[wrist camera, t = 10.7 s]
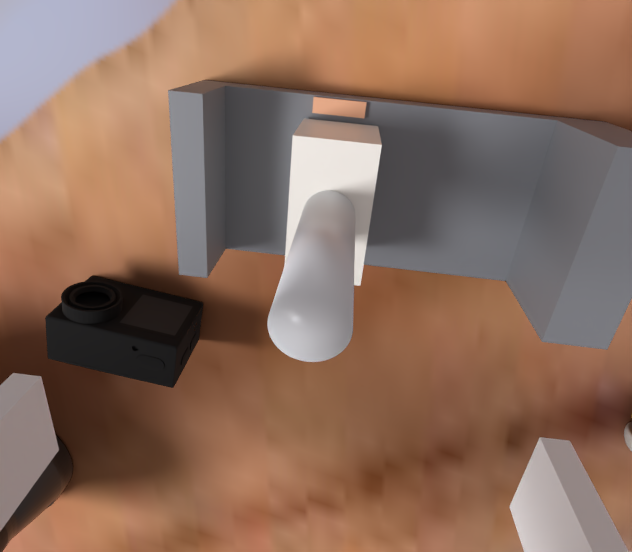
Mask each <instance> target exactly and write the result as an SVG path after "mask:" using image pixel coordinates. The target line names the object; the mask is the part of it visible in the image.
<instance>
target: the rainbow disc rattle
mask: <svg viewBox="0 0 632 552" xmlns="http://www.w3.org/2000/svg"><path fill="white" fill-rule="evenodd" d="M631 416H632V415H631ZM624 438H625V442H626V444H627V446H628V447H629V449H630V450H631V451H632V422H629V423H628V424H627V425H626V427H625V430H624Z"/></svg>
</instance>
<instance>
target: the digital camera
mask: <svg viewBox="0 0 632 552" xmlns="http://www.w3.org/2000/svg"><path fill="white" fill-rule="evenodd" d="M61 299H62V303H61V304H59V305H58V306H57V307H56V308H55V309H54V310H53V311H52V312H51V313H49V314H48V315H47V316H46V318H45V319H46V335H47V351H48V359H52V360H56V361H60V362H65V363H69V364H73V365H77V366H81V367H85V368H89V369H94V370H98V371H102V372H106V373H111V374H115V375H119V376H123V377H128V378H132V379H136V380H141V381H145V382H150V383H154V384H158V385H163V386H167V387H172V388H173V387H174V385H175V384H176V382H177V380H178V378H179V376H180V374H181V372H182V371H183V369H184V367H185V365H186V363H187V361H188V359H189V357H190V355H191V353H192V351H193V349H194V347H195V346H196V344H197V342H198V340H199V334H200V326H201V319H202V311H203V303H202V302H199V301H195V300H191V299H187V298H183V297H179V296H175V295H171V294H167V293H162V292H158V291H154V290H150V289H146V288H142V287H138V286H134V285H129V284H125V283H121V282H117V281H113V280H109V279H104V278H100V277H96V276H91V277H90V278H89V279H87V280H86V281H85V282H80V283H77V284H74V285H71V286H69V287H68V288H66V289H65V290H64V291H63V293H62V296H61ZM199 311H200V312H199ZM192 323H193V324H192ZM196 324H197V325H196ZM194 326H195V327H194ZM194 329H195V331H194ZM188 330H189V331H188Z"/></svg>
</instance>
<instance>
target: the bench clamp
mask: <svg viewBox="0 0 632 552" xmlns="http://www.w3.org/2000/svg"><path fill="white" fill-rule="evenodd" d="M168 95H169V112H170V129H171V146H172V163H173V180H174V198H175V215H176V232H177V249H178V266H179V275H187V276H196V277H204V278H208V276H209V274H210V273H211V271H212V270H213V268H214V266H215V265H216V263H217V262H218V260H219V258H220V257H221V255H222V254H223V252H224V251H225V249H235V250H243V251H252V252H260V253H269V254H278V255H285V250H286V234H287V218H288V202H289V186H290V170H291V154H292V138H293V134H294V133H295V131H296V130H297V128H298V127H299V125H300V124H301V122H302V121H303V119H304V118H306V119H315V120H325V121H334V122H344V123H353V124H363V125H372V126H378V128H379V133H380V138H381V143H382V147H381V154H380V160H379V167H378V173H377V180H376V186H375V193H374V200H373V206H372V213H371V219H370V226H369V232H368V239H367V245H366V252H365V259H364V265H372V266H381V267H389V268H398V269H406V270H415V271H424V272H432V273H441V274H449V275H458V276H467V277H475V278H484V279H492V280H501V281H506V282H507V284H508V286H509V287H510V289H511V291H512V292H513V294H514V296H515V297H516V299H517V301H518V302H519V304H520V306H521V307H522V309H523V311H524V312H525V314H526V316H527V318H528V319H529V321H530V323H531V324H532V326H533V328H534V329H535V331H536V333H537V334H538V336H539V338H540V339H541V341H542V342H548V343H557V344H565V345H573V346H581V347H590V348H598V349H606V350H607V349H608V347H609V345H610V343H611V341H612V338H613V336H614V334H615V332H616V330H617V328H618V326H619V324H620V322H621V320H622V317H623V315H624V313H625V311H626V309H627V307H628V305H629V303H630V301H631V299H632V131H630V130H627V129H624V128H622V127H619V126H616V125H613V124H610V123H607V122H603V121H593V120H584V119H574V118H565V117H555V116H545V115H536V114H526V113H517V112H507V111H497V110H488V109H478V108H468V107H459V106H449V105H440V104H430V103H420V102H411V101H401V100H392V99H382V98H372V97H363V96H353V95H344V94H334V93H324V92H315V91H305V90H296V89H286V88H276V87H267V86H257V85H248V84H238V83H228V82H219V81H209V80H203V81H199V82H196V83H192V84H189V85H185V86H182V87H178V88H175V89H171V90H168Z"/></svg>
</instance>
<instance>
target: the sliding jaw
mask: <svg viewBox="0 0 632 552" xmlns="http://www.w3.org/2000/svg"><path fill="white" fill-rule="evenodd" d="M381 147H382V143H381V138H380V133H379V128H378V126H372V125H363V124H353V123H344V122H334V121H325V120H315V119H306V118H304V119H303V121H302V122H301V124H300V125H299V127H298V128H297V130H296V131H295V133H294V134H293V138H292V154H291V170H290V186H289V202H288V218H287V234H286V250H285V266H284V270H283V273H282V276H281V279H280V282H279V285H278V288H277V291H276V294H275V297H274V300H273V303H272V307H271V310H270V313H269V316H268V322H267V325H268V332H269V335H270V337H271V339H272V341H273V342H274V344H275V345H276V346H277V347H278V348H279V349H280V350H281V351H282V352H283V353H285V354H286V355H288V356H290V357H292V358H294V359H297V360H301V361H306V362H319V361H324V360H328V359H331V358H333V357H335V356H337V355H338V354H340V353H341V352H342V351H343V350H344V349H345V348H346V347H347V345H348V344H349V342H350V340H351V337H352V333H353V304H354V285H358V286H360V285H361V278H362V272H363V265H364V259H365V252H366V245H367V239H368V232H369V226H370V219H371V213H372V206H373V200H374V193H375V186H376V180H377V173H378V167H379V160H380V154H381Z"/></svg>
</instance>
